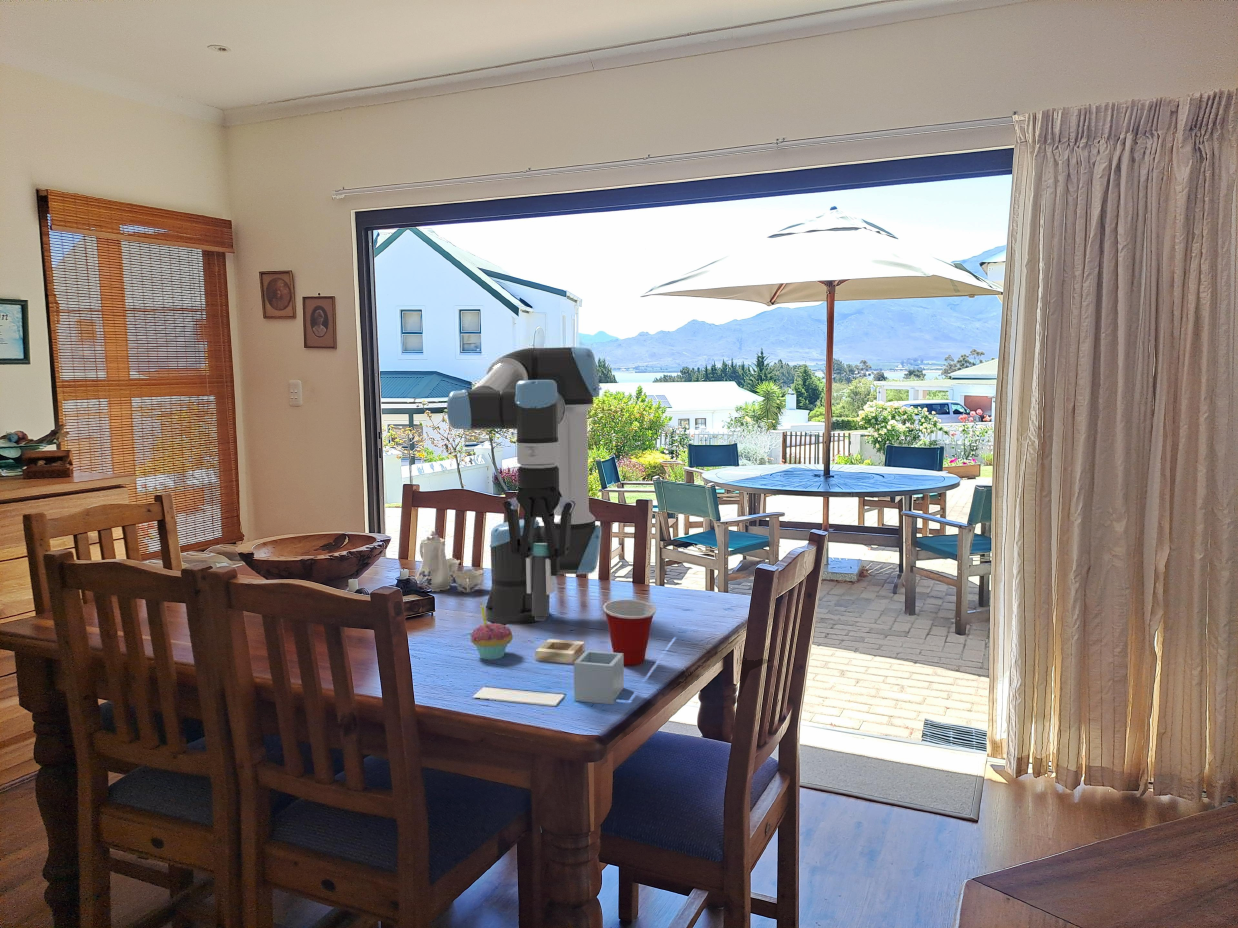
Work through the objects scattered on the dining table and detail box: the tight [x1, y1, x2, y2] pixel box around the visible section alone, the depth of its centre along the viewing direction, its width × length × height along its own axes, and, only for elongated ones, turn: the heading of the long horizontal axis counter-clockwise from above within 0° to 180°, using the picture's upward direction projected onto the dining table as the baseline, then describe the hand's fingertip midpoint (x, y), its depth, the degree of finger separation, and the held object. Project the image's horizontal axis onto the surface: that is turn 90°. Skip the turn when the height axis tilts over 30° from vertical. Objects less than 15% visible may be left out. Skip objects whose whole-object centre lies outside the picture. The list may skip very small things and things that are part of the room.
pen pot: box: [573, 649, 625, 705], centre depth 156 cm, size 7×7×7 cm
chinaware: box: [414, 530, 484, 593], centre depth 240 cm, size 28×17×17 cm, turn 37°
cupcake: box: [470, 601, 514, 660], centre depth 178 cm, size 9×8×12 cm
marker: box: [532, 543, 551, 622], centre depth 158 cm, size 3×3×14 cm
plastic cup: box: [602, 599, 658, 667], centre depth 173 cm, size 11×11×12 cm
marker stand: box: [534, 638, 586, 665], centre depth 178 cm, size 8×8×2 cm
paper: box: [472, 685, 567, 707], centre depth 161 cm, size 16×14×1 cm
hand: (541, 591), depth 158 cm, fingers closed on marker, 3 cm apart
